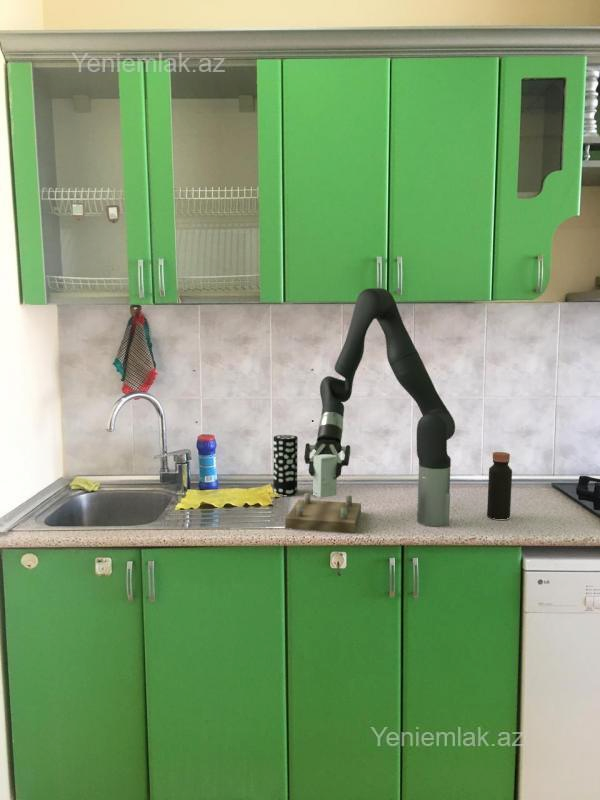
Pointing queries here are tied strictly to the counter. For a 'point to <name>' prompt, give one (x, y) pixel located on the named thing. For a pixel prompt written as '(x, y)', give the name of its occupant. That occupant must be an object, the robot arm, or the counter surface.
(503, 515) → the bottle
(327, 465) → the skincare box
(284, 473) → the spotted tube
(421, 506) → the robot arm
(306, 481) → the counter surface
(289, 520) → the walnut plinth
